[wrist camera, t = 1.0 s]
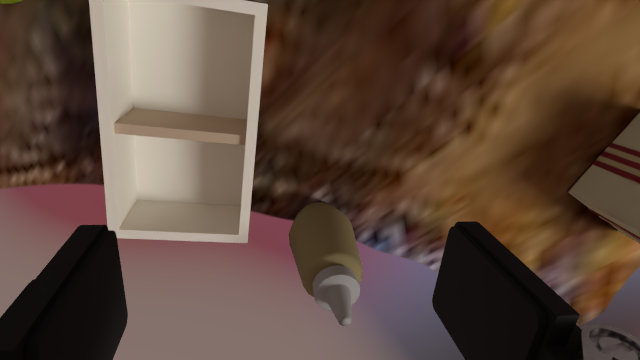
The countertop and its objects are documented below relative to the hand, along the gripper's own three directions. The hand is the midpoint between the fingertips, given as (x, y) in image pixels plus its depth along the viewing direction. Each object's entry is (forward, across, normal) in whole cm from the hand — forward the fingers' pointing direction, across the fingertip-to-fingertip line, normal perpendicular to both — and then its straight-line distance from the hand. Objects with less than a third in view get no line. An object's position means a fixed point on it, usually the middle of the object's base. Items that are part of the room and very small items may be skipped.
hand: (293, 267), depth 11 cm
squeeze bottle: (+35, -8, +18) cm, 40 cm away
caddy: (+35, +8, +4) cm, 36 cm away
